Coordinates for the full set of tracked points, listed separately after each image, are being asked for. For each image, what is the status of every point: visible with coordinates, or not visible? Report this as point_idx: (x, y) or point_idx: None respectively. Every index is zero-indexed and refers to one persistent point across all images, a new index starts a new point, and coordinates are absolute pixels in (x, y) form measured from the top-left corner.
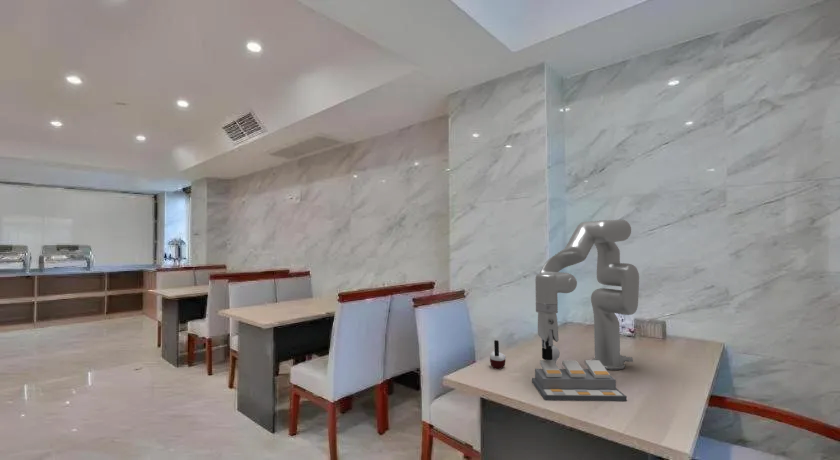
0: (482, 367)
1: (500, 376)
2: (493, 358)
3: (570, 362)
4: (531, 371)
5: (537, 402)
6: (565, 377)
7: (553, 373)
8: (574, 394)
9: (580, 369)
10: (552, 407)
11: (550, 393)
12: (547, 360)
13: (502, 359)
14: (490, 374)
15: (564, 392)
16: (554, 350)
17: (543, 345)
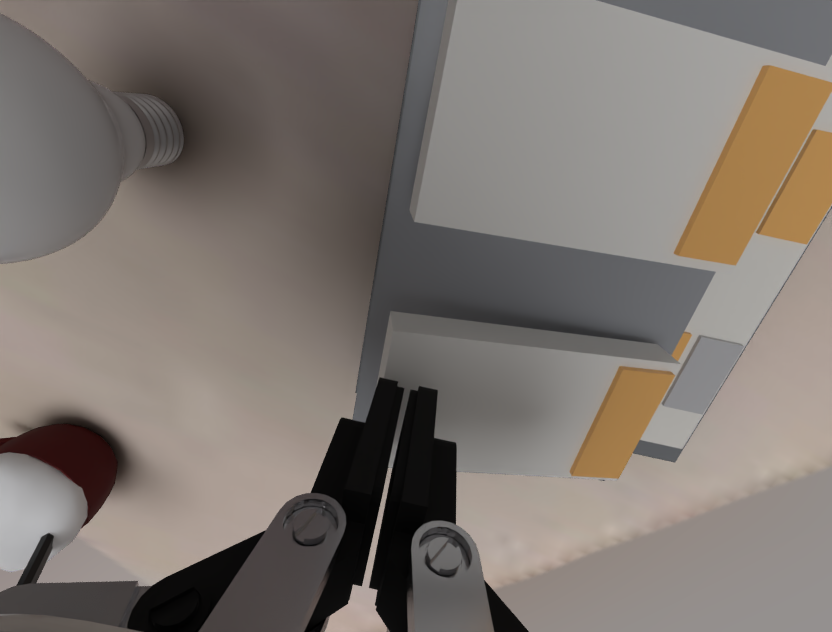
0: (101, 518)
1: (250, 493)
2: (70, 541)
3: (496, 123)
4: (138, 279)
5: (671, 486)
6: (646, 294)
7: (638, 434)
8: (777, 278)
9: (717, 80)
10: (771, 450)
11: (674, 425)
12: None
13: (72, 495)
14: (218, 523)
15: (703, 329)
16: (6, 144)
17: (326, 619)
